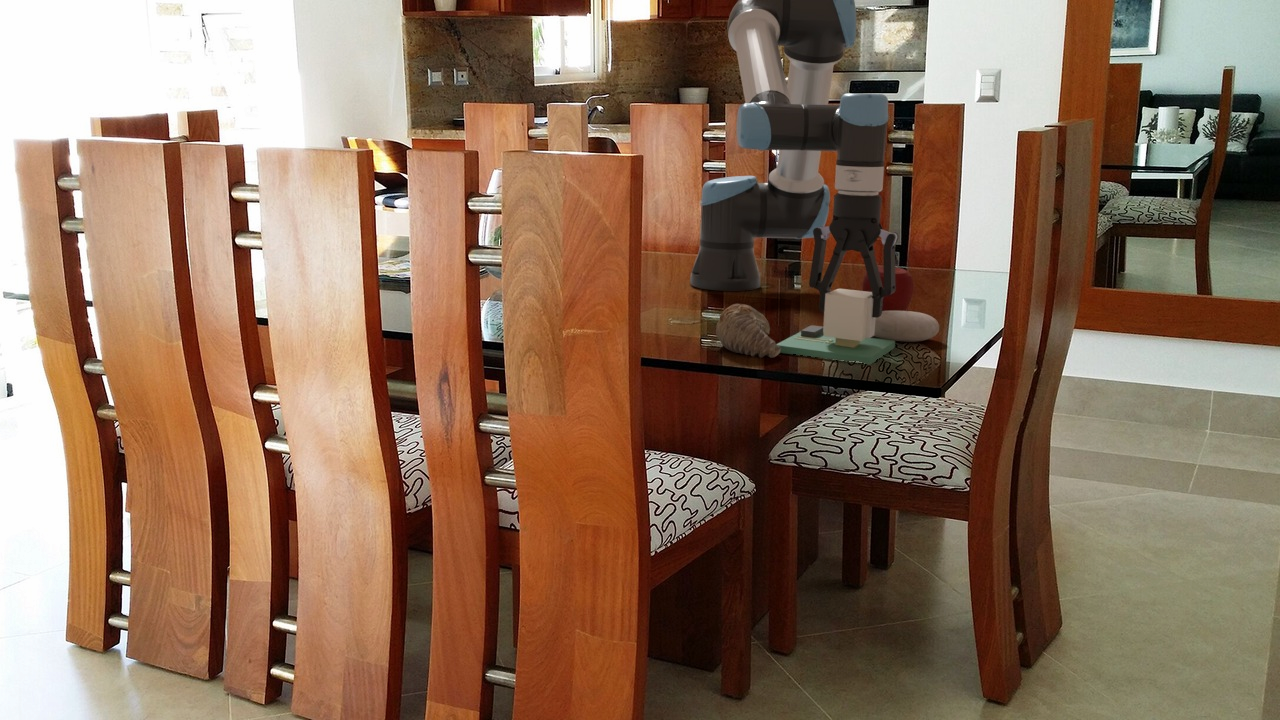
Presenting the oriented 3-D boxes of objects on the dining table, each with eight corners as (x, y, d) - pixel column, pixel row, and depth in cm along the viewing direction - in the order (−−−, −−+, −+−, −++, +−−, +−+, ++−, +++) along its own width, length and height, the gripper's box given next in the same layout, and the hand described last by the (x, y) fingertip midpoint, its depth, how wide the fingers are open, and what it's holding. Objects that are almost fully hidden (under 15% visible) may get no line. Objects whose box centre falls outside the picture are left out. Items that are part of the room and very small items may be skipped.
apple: (881, 324, 204) (885, 271, 202) (849, 314, 213) (853, 263, 210) (921, 320, 209) (925, 268, 206) (888, 311, 217) (892, 260, 214)
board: (774, 352, 182) (776, 326, 181) (804, 336, 194) (805, 312, 193) (870, 365, 174) (872, 339, 173) (894, 347, 186) (896, 323, 185)
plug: (823, 336, 181) (826, 294, 179) (836, 329, 187) (839, 288, 185) (861, 341, 178) (864, 298, 176) (873, 333, 184) (876, 292, 182)
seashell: (738, 360, 192) (717, 307, 191) (792, 341, 188) (771, 286, 188) (723, 377, 179) (700, 320, 178) (780, 357, 176) (757, 298, 175)
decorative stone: (860, 342, 190) (862, 314, 189) (865, 331, 199) (867, 304, 197) (936, 349, 187) (939, 320, 186) (938, 338, 195) (941, 310, 194)
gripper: (792, 190, 178) (784, 330, 183) (912, 198, 169) (900, 345, 175) (808, 187, 184) (800, 323, 190) (924, 194, 175) (913, 336, 181)
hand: (848, 333), depth 182 cm, fingers closed on plug, 6 cm apart
